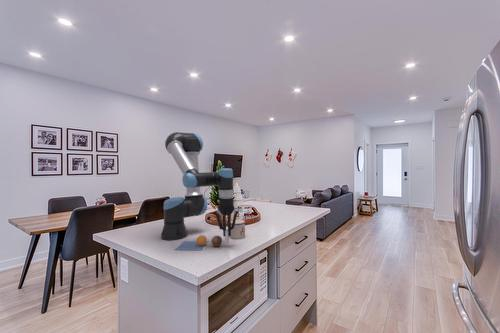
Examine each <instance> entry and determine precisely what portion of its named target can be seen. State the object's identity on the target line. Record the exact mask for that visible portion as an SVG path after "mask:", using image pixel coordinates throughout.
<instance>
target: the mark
mask: <svg viewBox="0 0 500 333" xmlns="http://www.w3.org/2000/svg"><path fill="white" fill-rule="evenodd" d="M209 242H210V241H208V240H207V242H206V244H205V245H204V246H199V245H198V244H197V242H196V240H185V241H182V243H180V244H179V245H178V246H177V247H176V248H174V251H202V250H203V249H204V248H205V247H206V246H207V245H208V243H209Z"/></svg>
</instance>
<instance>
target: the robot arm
mask: <svg viewBox="0 0 500 333" xmlns="http://www.w3.org/2000/svg"><path fill="white" fill-rule="evenodd" d="M164 145H165V146H164V147H165V150H166V151H167V153H168V154H170V155H171V156H172V158H173V160H174V162H175V164H176V165H177V166H178V168H179V170H180V172H181V173H182V174H183V175H182V185H183V186H184V187H185V188H186V194H185V195H184V197H183V196H178V197H177V196H176V197H171V198H168V199H166V200H164V202H163V227H162V230H161V233H160V234H161V235H160V236H161V237H160V238H161V239H162V240H164V241H176V240H180V239H185V238H186V237H187V236H188V230H187V228H186V224H185V218H191V217H199V216H201V215H204V214H205V213H206V211H207V208H208V201H207V197H205V196H204V194H203V193H202V192H201V187H213V186H214V187H216V186H217V187H218V197H219V199H218V209H217V210H215V211H214V212H213V213H214V214H215V216H216V220H217V223H218V228H219V230H222V231H223V232H222V235H223V236H222V237H225V238H224V242H225V243H224V244H229V243H230V238H231V237H230V236H231V230H232V229H234V226H235V222H236V217H238V214H239V212H240V211H239V210H237V209H236V208H235V206H234V203H235V202H234V198H233V197H234V173H233V172H234V170H233V169H232V168H227V167H226V168H219V169H218V171H209V172H208V171H207V172H200V168H199V155H200V154H201V152H202V150H203V147H204V142H203V138H202V137H201V136H200V134H198V133H193V132H192V133H191V132H180V131H179V132H178V131H177V132H173V133H170V134H169V135H168V136H167V137H166V139H165V142H164ZM220 214H221V215H222V218H221V215H220ZM232 214H233V218H231V217H232ZM231 219H232V220H233V222H232V227H231V221H232V220H231Z"/></svg>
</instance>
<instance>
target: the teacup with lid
mask: <svg viewBox="0 0 500 333" xmlns="http://www.w3.org/2000/svg"><path fill="white" fill-rule="evenodd" d="M232 222H233V219H232V220H231V227H232ZM245 223H246V221H245V220H244V219H240V217H239V216H237V217H236V222H235V226H234V229H232V230H231V236H230V237H229V238H231V239H235V240H240V239H244V238H245V236H246V227H245V226H246V224H245Z"/></svg>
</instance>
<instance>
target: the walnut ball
mask: <svg viewBox="0 0 500 333" xmlns="http://www.w3.org/2000/svg"><path fill="white" fill-rule="evenodd" d="M222 238H223V237H222V236H220V235H214V236H213V237H212V238H211V244H212V245H213V246H214V247H219V246H221V245H222V243H223V239H222Z"/></svg>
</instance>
